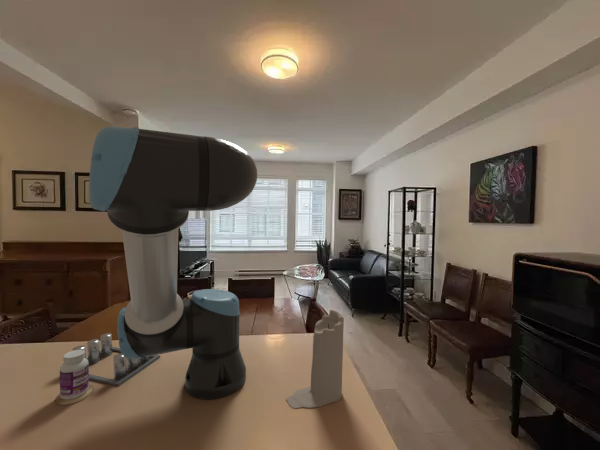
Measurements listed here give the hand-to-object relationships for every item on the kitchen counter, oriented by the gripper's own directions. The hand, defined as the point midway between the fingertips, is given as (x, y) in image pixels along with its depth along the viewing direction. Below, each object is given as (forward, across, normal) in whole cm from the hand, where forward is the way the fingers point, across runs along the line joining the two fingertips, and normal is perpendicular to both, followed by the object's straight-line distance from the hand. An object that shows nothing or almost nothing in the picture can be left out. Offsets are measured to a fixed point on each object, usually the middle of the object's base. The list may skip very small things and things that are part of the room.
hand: (158, 265), depth 87 cm
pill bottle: (+26, +23, -4) cm, 35 cm away
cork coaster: (+27, +23, -4) cm, 36 cm away
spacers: (+27, +11, -6) cm, 29 cm away
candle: (+27, +10, +51) cm, 58 cm away
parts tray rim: (+27, +11, -6) cm, 29 cm away
